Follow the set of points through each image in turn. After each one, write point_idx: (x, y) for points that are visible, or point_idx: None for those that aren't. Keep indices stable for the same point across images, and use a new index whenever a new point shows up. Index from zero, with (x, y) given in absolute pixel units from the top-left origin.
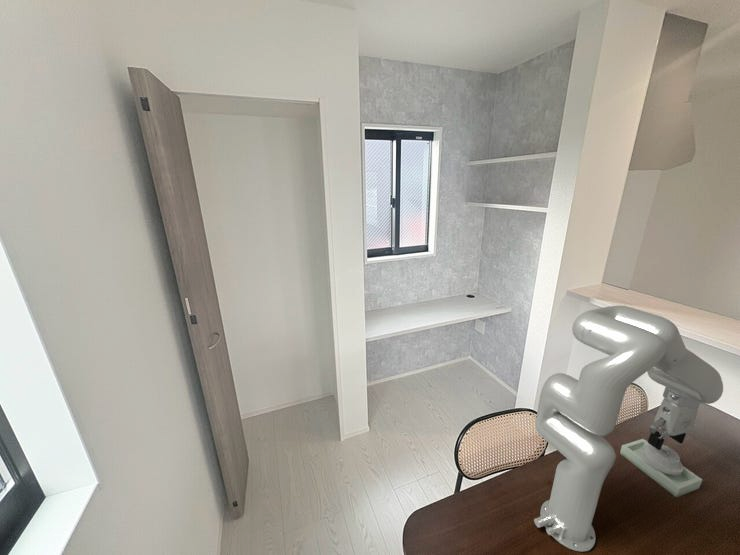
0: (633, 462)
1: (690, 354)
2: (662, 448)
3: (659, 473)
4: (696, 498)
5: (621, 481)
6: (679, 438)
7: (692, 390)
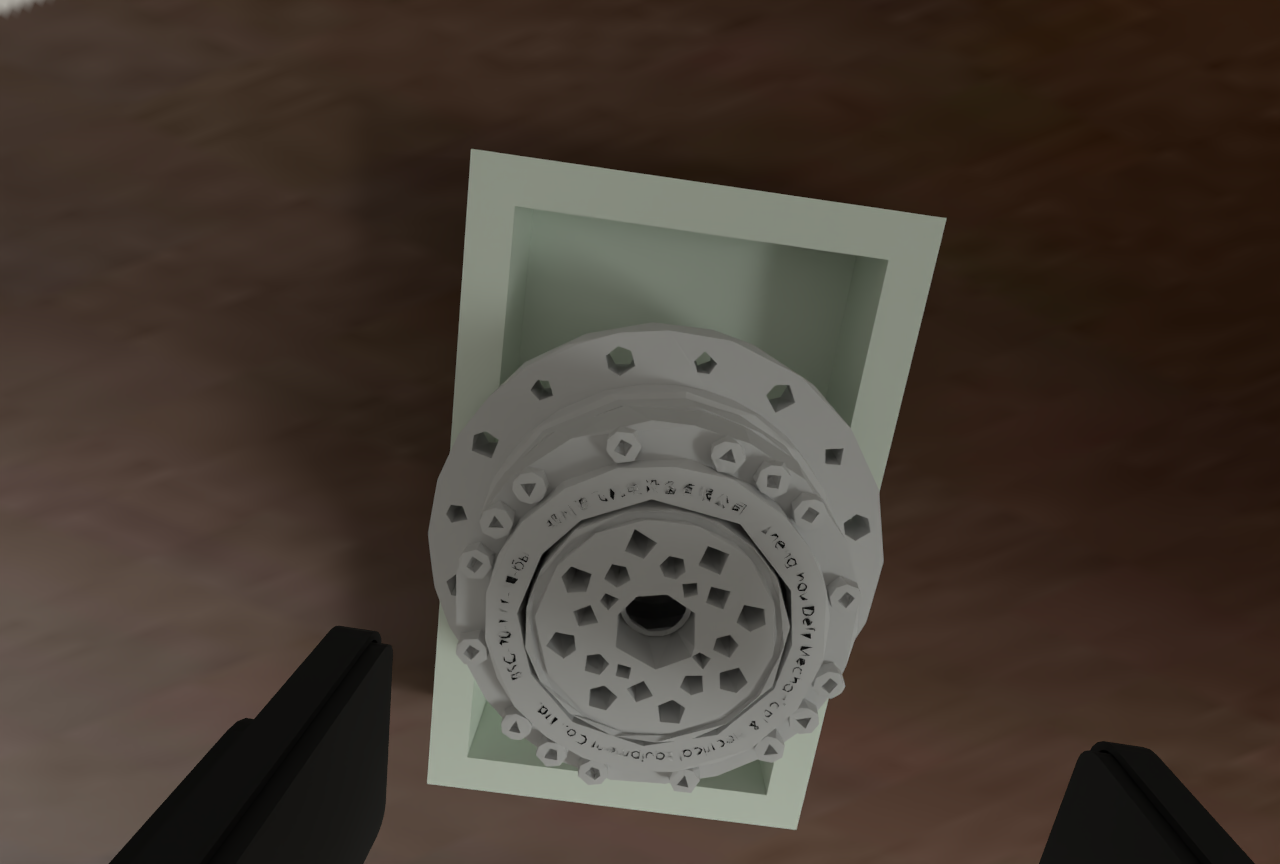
0: None
1: None
2: (613, 662)
3: (889, 445)
4: (697, 111)
5: (1172, 561)
6: (341, 749)
7: None
